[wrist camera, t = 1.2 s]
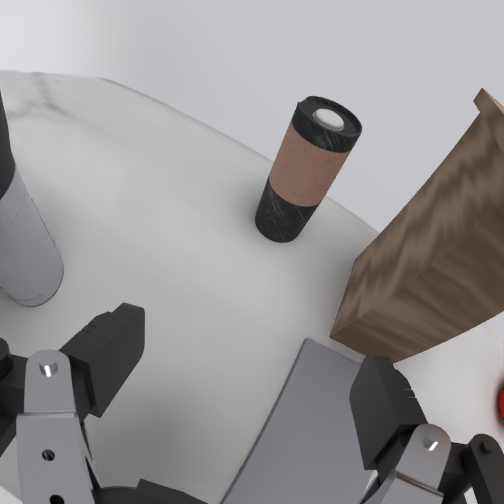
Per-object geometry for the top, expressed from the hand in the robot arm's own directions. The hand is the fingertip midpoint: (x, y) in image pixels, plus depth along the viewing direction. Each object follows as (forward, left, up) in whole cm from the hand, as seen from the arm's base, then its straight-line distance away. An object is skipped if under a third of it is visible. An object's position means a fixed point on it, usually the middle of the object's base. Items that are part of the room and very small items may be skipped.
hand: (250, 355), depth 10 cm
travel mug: (-21, +17, -24) cm, 36 cm away
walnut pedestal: (-4, +26, -24) cm, 36 cm away
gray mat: (+12, +10, -24) cm, 29 cm away
